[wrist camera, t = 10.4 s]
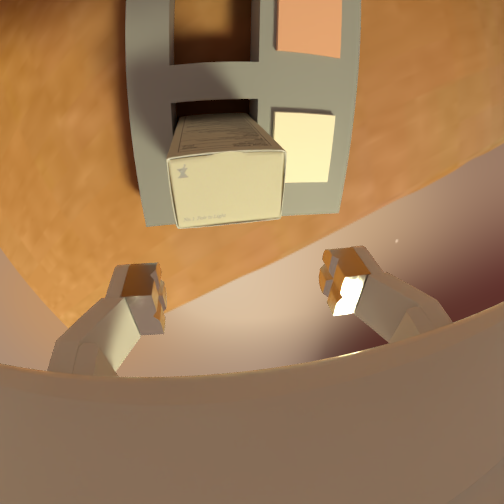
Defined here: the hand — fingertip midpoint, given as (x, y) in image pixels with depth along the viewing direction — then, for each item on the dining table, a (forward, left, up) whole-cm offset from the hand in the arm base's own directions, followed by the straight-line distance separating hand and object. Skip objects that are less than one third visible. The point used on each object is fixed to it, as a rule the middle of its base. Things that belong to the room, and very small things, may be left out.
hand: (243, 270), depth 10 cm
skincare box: (0, +1, -18) cm, 18 cm away
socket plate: (+2, +6, -18) cm, 19 cm away
